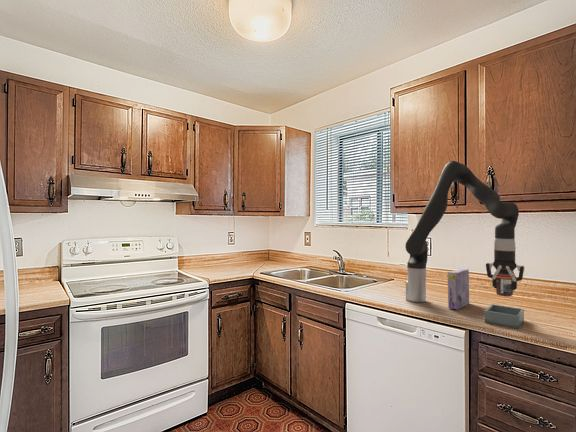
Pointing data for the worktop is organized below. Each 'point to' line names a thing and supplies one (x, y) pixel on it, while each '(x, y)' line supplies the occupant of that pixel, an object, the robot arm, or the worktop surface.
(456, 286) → the cake pan box
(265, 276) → the worktop surface
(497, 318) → the bin
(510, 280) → the supplement bottle
